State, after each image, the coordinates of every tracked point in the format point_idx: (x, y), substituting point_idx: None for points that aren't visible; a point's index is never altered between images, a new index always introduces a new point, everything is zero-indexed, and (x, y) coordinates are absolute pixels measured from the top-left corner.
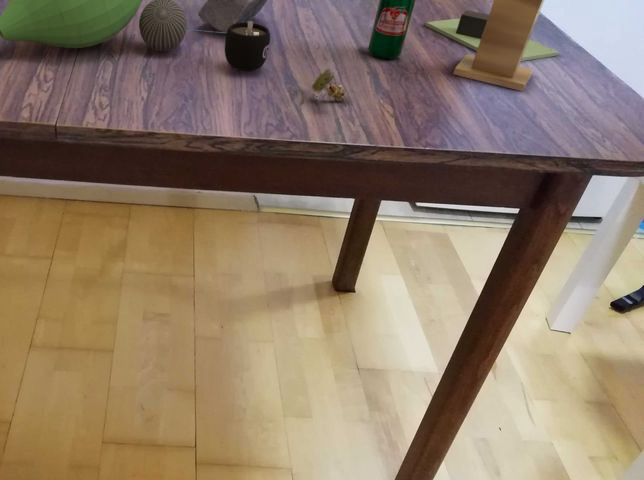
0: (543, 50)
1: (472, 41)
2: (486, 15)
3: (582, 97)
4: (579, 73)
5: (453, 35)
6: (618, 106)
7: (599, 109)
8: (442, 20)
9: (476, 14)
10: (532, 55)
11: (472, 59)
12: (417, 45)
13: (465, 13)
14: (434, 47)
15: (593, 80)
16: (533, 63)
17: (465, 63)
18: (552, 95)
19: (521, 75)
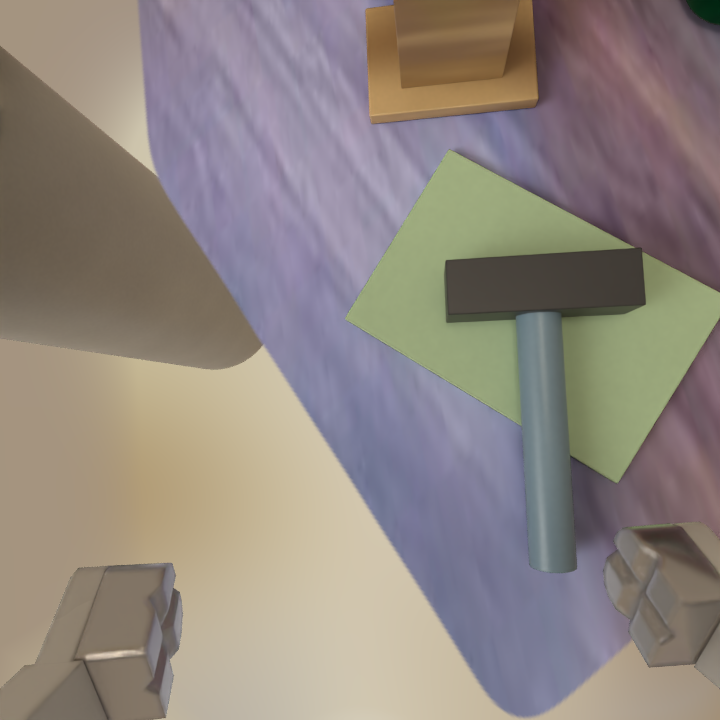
0: (380, 301)
1: (559, 230)
2: (573, 294)
3: (250, 86)
4: (277, 232)
5: (620, 240)
6: (179, 92)
7: (211, 47)
8: (697, 351)
9: (602, 280)
10: (395, 240)
11: (513, 72)
12: (678, 126)
13: (634, 265)
14: (634, 145)
15: (243, 209)
16: (384, 219)
17: (519, 33)
18: (306, 49)
19: (384, 57)
